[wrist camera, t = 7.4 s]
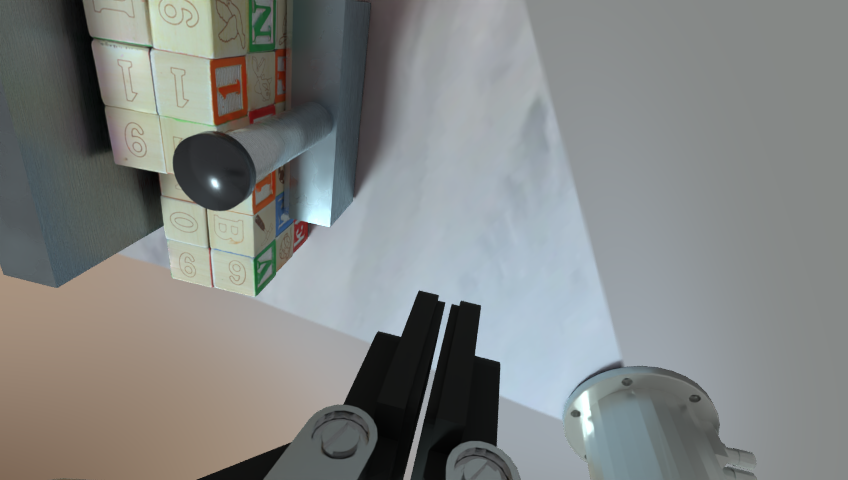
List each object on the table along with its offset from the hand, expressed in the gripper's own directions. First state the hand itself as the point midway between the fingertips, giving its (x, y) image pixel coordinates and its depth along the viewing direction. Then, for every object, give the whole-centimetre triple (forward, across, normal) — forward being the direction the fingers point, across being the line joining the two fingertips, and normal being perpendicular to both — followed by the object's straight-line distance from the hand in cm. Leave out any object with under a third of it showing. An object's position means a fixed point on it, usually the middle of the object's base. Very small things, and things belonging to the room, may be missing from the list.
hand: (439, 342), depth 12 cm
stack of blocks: (+22, +16, 0) cm, 28 cm away
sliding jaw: (+22, +11, -1) cm, 25 cm away
